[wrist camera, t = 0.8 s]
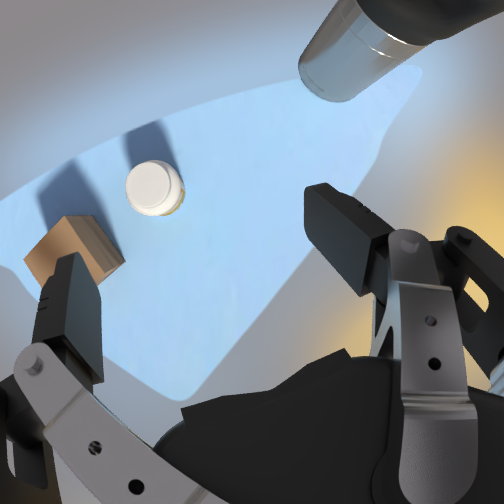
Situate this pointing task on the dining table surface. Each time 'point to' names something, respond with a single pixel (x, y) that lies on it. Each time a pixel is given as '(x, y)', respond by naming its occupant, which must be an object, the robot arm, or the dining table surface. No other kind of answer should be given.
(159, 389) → the dining table surface
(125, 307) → the dining table surface
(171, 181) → the supplement bottle
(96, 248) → the walnut block
